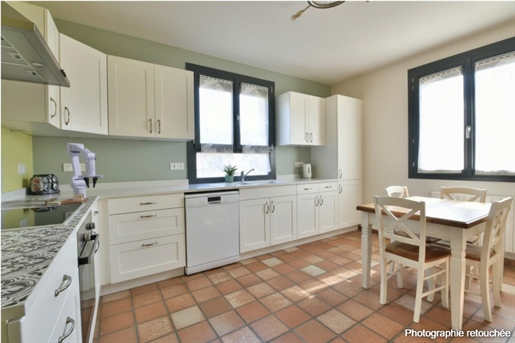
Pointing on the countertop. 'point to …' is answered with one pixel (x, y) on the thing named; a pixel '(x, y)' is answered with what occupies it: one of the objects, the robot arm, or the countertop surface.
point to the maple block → (78, 197)
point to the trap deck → (64, 202)
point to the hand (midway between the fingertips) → (91, 187)
